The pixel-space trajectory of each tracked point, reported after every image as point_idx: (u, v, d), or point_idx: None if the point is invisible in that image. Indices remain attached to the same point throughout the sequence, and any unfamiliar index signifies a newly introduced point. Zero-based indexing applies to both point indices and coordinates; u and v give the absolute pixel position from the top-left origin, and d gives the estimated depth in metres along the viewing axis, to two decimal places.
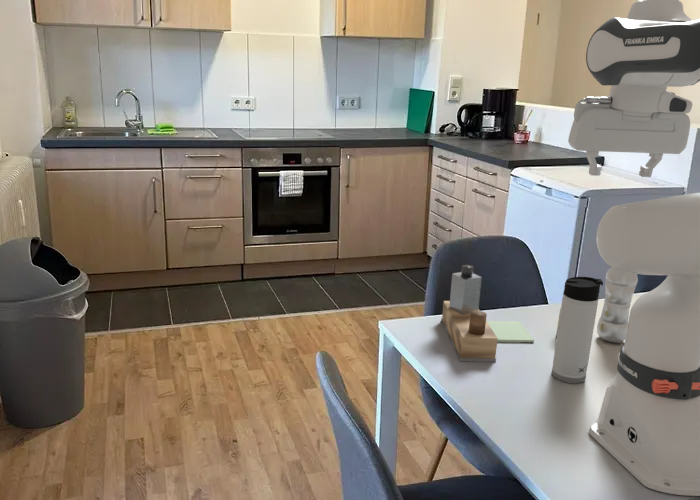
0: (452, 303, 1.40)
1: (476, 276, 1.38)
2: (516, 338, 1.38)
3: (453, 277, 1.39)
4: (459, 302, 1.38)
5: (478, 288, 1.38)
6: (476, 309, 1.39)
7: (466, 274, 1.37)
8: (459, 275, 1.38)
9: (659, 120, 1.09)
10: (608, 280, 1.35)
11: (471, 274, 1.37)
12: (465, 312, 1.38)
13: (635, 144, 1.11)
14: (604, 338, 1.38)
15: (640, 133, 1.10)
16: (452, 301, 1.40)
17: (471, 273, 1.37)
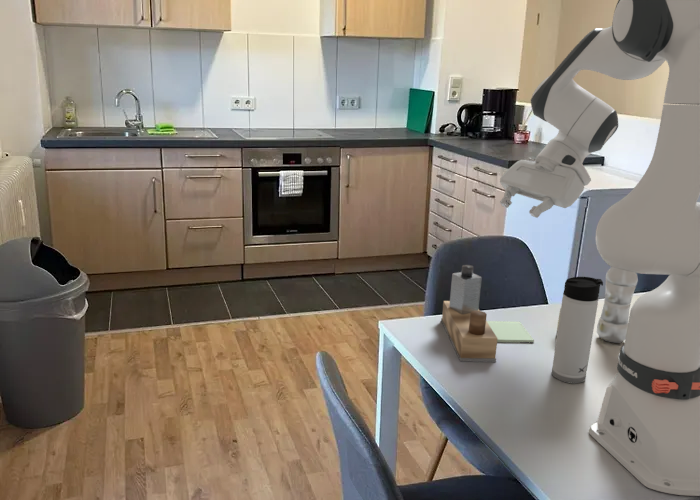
0: (452, 303, 1.40)
1: (476, 276, 1.38)
2: (516, 338, 1.38)
3: (453, 277, 1.39)
4: (459, 302, 1.38)
5: (478, 288, 1.38)
6: (476, 309, 1.39)
7: (466, 274, 1.37)
8: (459, 275, 1.38)
9: (555, 171, 1.37)
10: (608, 280, 1.35)
11: (471, 274, 1.37)
12: (465, 312, 1.38)
13: (533, 184, 1.39)
14: (604, 338, 1.38)
15: (540, 179, 1.39)
16: (452, 301, 1.40)
17: (471, 273, 1.37)
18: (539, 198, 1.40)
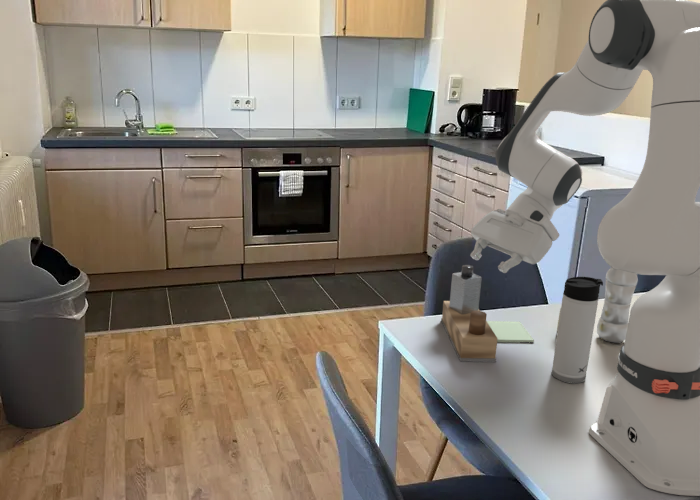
0: (452, 303, 1.40)
1: (476, 276, 1.38)
2: (516, 338, 1.38)
3: (453, 277, 1.39)
4: (459, 302, 1.38)
5: (478, 288, 1.38)
6: (476, 309, 1.39)
7: (466, 274, 1.37)
8: (459, 275, 1.38)
9: (524, 226, 1.37)
10: (608, 280, 1.35)
11: (471, 274, 1.37)
12: (465, 312, 1.38)
13: (502, 238, 1.39)
14: (604, 338, 1.38)
15: (509, 233, 1.39)
16: (452, 301, 1.40)
17: (471, 273, 1.37)
18: (508, 252, 1.40)
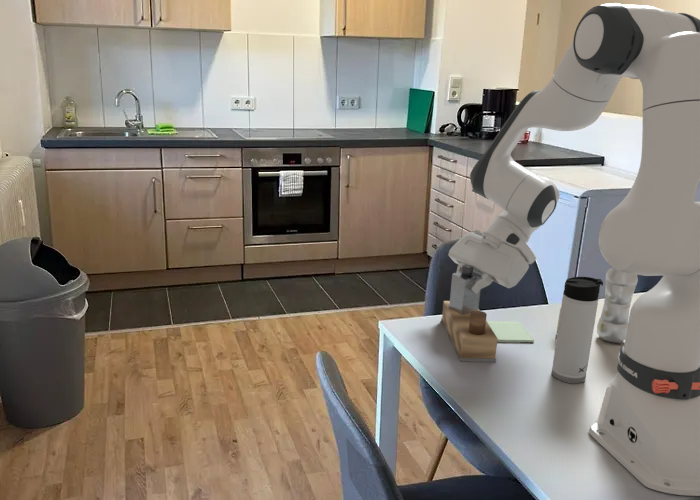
0: (452, 303, 1.40)
1: (476, 276, 1.38)
2: (516, 338, 1.38)
3: (453, 277, 1.39)
4: (459, 302, 1.38)
5: None
6: (476, 309, 1.39)
7: (466, 274, 1.37)
8: (459, 275, 1.38)
9: (500, 249, 1.36)
10: (608, 280, 1.35)
11: (471, 274, 1.37)
12: (465, 312, 1.38)
13: (479, 261, 1.38)
14: (604, 338, 1.38)
15: (486, 256, 1.38)
16: (452, 301, 1.40)
17: (471, 273, 1.37)
18: None
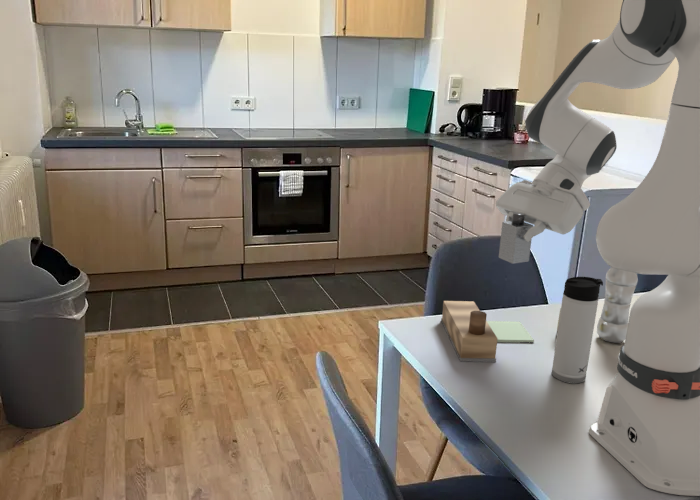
0: (502, 253, 1.36)
1: (527, 224, 1.34)
2: (516, 338, 1.38)
3: (503, 225, 1.35)
4: (510, 251, 1.34)
5: None
6: (527, 258, 1.35)
7: (517, 222, 1.33)
8: (510, 223, 1.34)
9: (553, 196, 1.32)
10: (608, 280, 1.35)
11: (522, 222, 1.34)
12: (516, 261, 1.34)
13: (530, 209, 1.34)
14: (604, 338, 1.38)
15: (537, 203, 1.34)
16: (502, 250, 1.36)
17: (522, 221, 1.33)
18: None
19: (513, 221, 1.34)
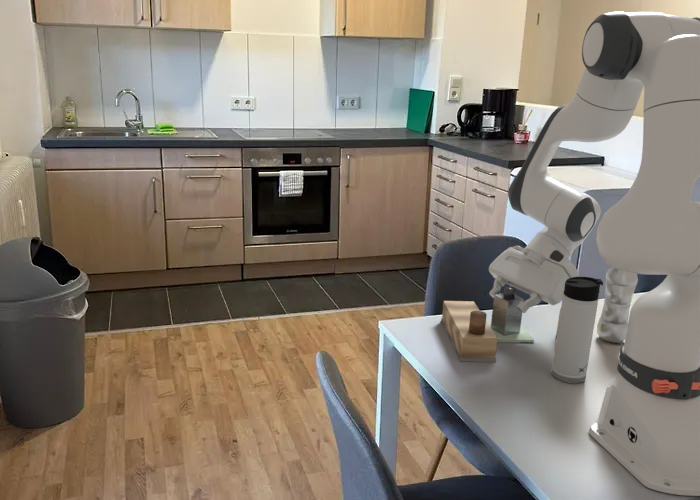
0: (494, 324, 1.41)
1: (518, 298, 1.39)
2: (516, 338, 1.38)
3: (495, 298, 1.40)
4: (501, 323, 1.39)
5: None
6: (518, 330, 1.40)
7: (509, 296, 1.38)
8: (501, 297, 1.39)
9: (544, 266, 1.36)
10: (608, 280, 1.35)
11: (513, 296, 1.38)
12: (507, 333, 1.39)
13: (522, 278, 1.39)
14: (604, 338, 1.38)
15: (528, 272, 1.38)
16: (494, 322, 1.41)
17: (513, 295, 1.38)
18: (527, 291, 1.39)
19: (504, 295, 1.39)
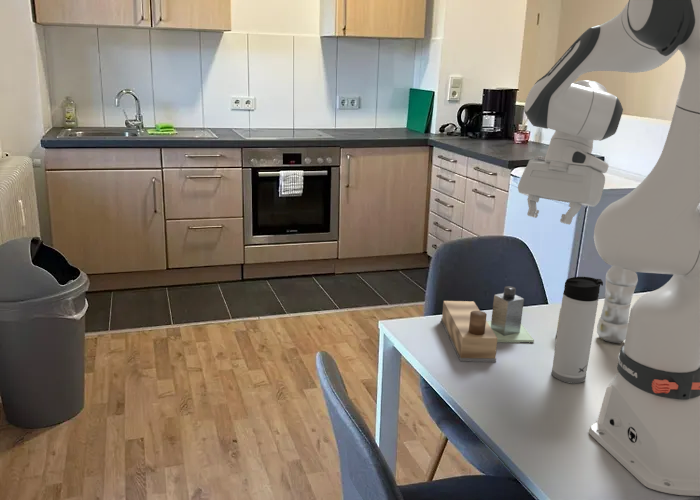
0: (494, 324, 1.41)
1: (518, 298, 1.39)
2: (516, 338, 1.38)
3: (495, 298, 1.40)
4: (501, 323, 1.39)
5: (521, 309, 1.39)
6: (518, 330, 1.40)
7: (509, 296, 1.38)
8: (501, 297, 1.39)
9: (570, 171, 1.32)
10: (608, 280, 1.35)
11: (513, 296, 1.38)
12: (507, 333, 1.39)
13: (553, 190, 1.35)
14: (604, 338, 1.38)
15: (557, 182, 1.35)
16: (494, 322, 1.41)
17: (513, 295, 1.38)
18: (564, 200, 1.36)
19: (504, 295, 1.39)
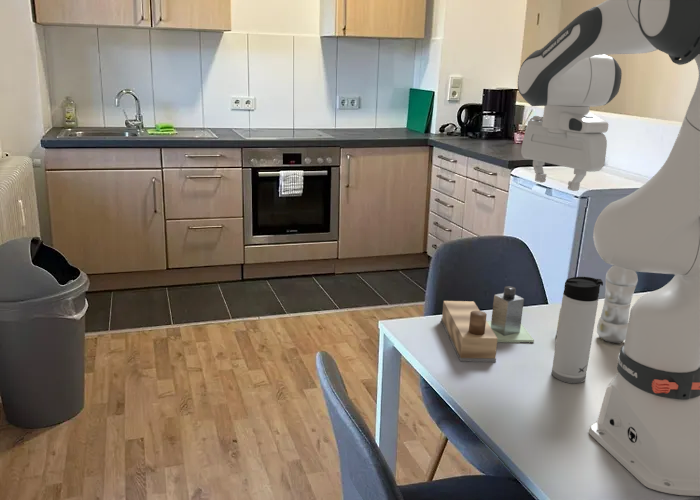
0: (494, 324, 1.41)
1: (518, 298, 1.39)
2: (516, 338, 1.38)
3: (495, 298, 1.40)
4: (501, 323, 1.39)
5: (521, 309, 1.39)
6: (518, 330, 1.40)
7: (509, 296, 1.38)
8: (501, 297, 1.39)
9: (569, 138, 1.27)
10: (608, 280, 1.35)
11: (513, 296, 1.38)
12: (507, 333, 1.39)
13: (556, 157, 1.31)
14: (604, 338, 1.38)
15: (559, 148, 1.30)
16: (494, 322, 1.41)
17: (513, 295, 1.38)
18: None
19: (504, 295, 1.39)
